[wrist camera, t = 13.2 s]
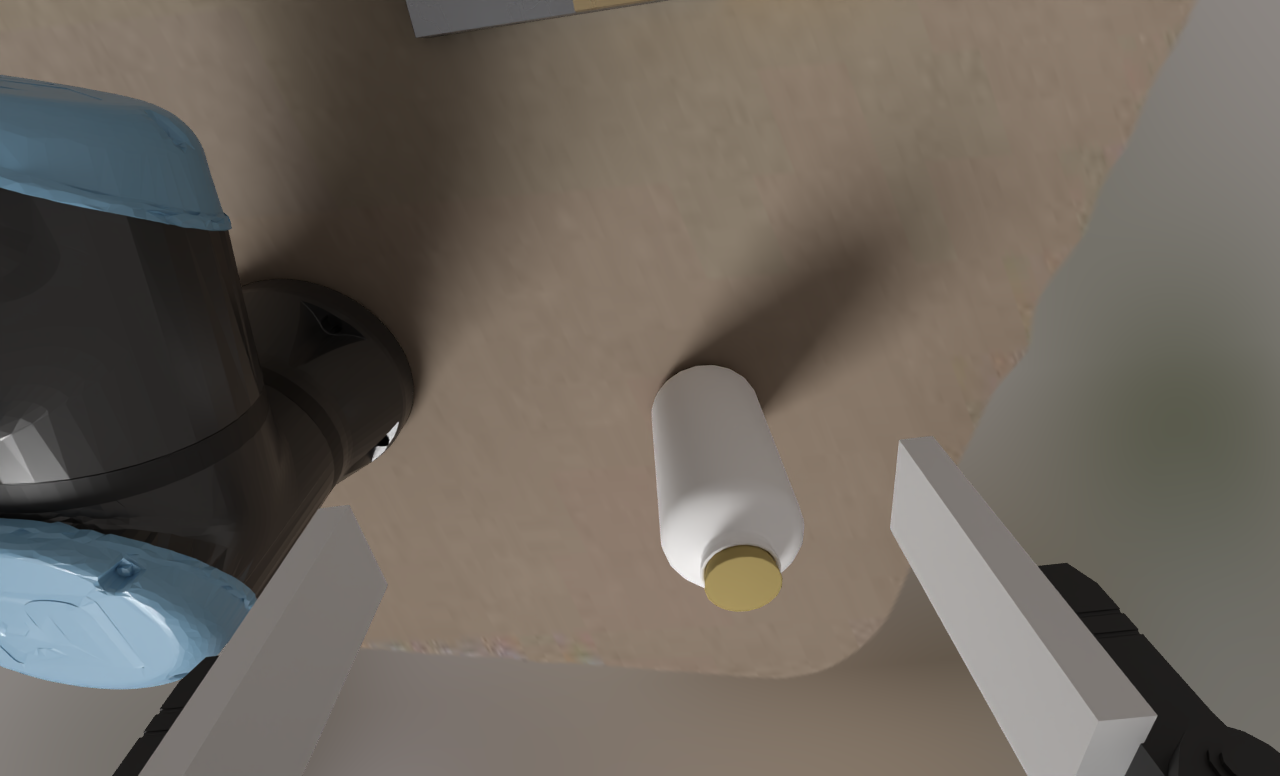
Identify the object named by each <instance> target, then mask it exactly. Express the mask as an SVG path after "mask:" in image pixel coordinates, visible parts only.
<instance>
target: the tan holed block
mask: <svg viewBox="0 0 1280 776" xmlns="http://www.w3.org/2000/svg"><path fill="white" fill-rule="evenodd" d="M661 1H667V0H406V3H407V7H408V11H409V14H410V18H411V22H412V25H413V29H414V33H415V36H416V38H428V37H435V36H441V35H447V34H454V33H460V32H467V31H473V30H480V29H486V28H493V27H499V26H506V25H512V24H519V23H525V22H531V21H538V20H544V19H551V18H557V17H564V16H570V15H577V14H583V13H590V12H596V11H603V10H609V9H615V8H622V7H628V6H635V5H641V4H648V3H654V2H661Z"/></svg>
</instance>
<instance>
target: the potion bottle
mask: <svg viewBox="0 0 1280 776" xmlns="http://www.w3.org/2000/svg"><path fill="white" fill-rule="evenodd" d="M652 427H653V440H654V454H655V467H656V481H657V494H658V508H659V521H660V535H661V546H662V548H663V551H664V553H665V555H666V557H667V559H668V561H669V563H670V565H671V567H673V568H674V569H675V570H676V571H677V572H678V573H679V574H680V575H681V576H682V577H684V578H685V579H687V580H688V581H690V582H692V583H695V584H697V585H699V586H701V587H703V588H705V592H706V595H707V597H708V599H709V600H710V601H711V602H713V603H714V604H715V605H716V606H718V607H721V608H723V609H725V610H730V611H736V612H737V611H750V610H753V609H757V608H760V607H762V606H764V605H766V604H767V603H769V602H770V601H771V600H773V599H774V598H775V597H776V596H777V594H778V593H779V591H780V589H781V587H782V575H781V573H782V572H783V571H784V570H785V569H786V568H787V567H788V566H789V565H790V564H791V563H792V562H793V560H794V558H795V557H796V555H797V553H798V551H799V549H800V547H801V545H802V543H803V534H804V520H803V516H802V513H801V510H800V507H799V504H798V501H797V499H796V496H795V494H794V491H793V489H792V486H791V483H790V481H789V478H788V476H787V473H786V471H785V468H784V465H783V463H782V460H781V458H780V455H779V452H778V450H777V447H776V445H775V442H774V440H773V437H772V434H771V432H770V429H769V427H768V424H767V422H766V419H765V416H764V414H763V411H762V409H761V406H760V404H759V401H758V398H757V396H756V393H755V391H754V389H753V388H752V387H751V385H750V384H749V383H748V382H747V380H746V379H745V378H744V377H743V376H741V375H739V374H738V373H736V372H734V371H733V370H731V369H729V368H724V367H720V366H716V365H704V366H695V367H692V368H689V369H686V370H683V371H680V372H679V373H677V374H676V375H674V376H673V377H671V378H670V379H669V380H667V381H666V382H665V383H664V385H663V386H662V387H661V389H660V390H659V391H658V393H657V394H656V397H655V400H654V403H653V407H652Z"/></svg>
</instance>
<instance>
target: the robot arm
mask: <svg viewBox="0 0 1280 776" xmlns="http://www.w3.org/2000/svg"><path fill="white" fill-rule="evenodd" d="M231 228H232V227H231V222H230V219H229V217H228V216H227V215H226V214H225V213H224V212H223V210H222V207H221V204H220V201H219V198H218V195H217V192H216V189H215V186H214V183H213V180H212V177H211V173H210V170H209V167H208V163H207V160H206V156H205V153H204V150H203V148H202V146H201V143H200V142H199V140H198V138H197V137H196V135H195V134H194V133H193V131H192V130H191V129H190V128H189V127H188V126H187V125H186V124H185V123H184V122H183V121H182V120H180V119H179V118H178V117H176V116H175V115H174V114H172V113H170V112H169V111H167V110H165V109H163V108H161V107H159V106H156V105H154V104H151V103H148V102H145V101H142V100H138V99H135V98H131V97H126V96H122V95H117V94H112V93H107V92H101V91H96V90H91V89H86V88H80V87H75V86H69V85H63V84H57V83H51V82H45V81H39V80H32V79H25V78H19V77H12V76H5V75H0V666H1V667H4V668H7V669H11V670H14V671H17V672H20V673H22V674H25V675H29V676H32V677H36V678H39V679H44V680H48V681H52V682H57V683H63V684H69V685H74V686H81V687H90V688H101V689H136V688H145V687H153V686H159V685H163V684H167V683H171V682H174V681H177V680H180V679H182V678H183V679H182V680H181V681H180V682H179V683H178V684H177V686H176V687H175V688H174V690H173V691H172V693H171V694H170V696H169V697H168V698H167V700H166V701H165V703H164V704H163V705H162V707H161V708H160V713H159V714H158V715H155V717H154V718H153V719H152V721H151V722H150V724H149V725H148V726H147V728H146V729H145V731H144V736H143V737H142V738H139V739H138V740H137V742H136V743H135V745H134V746H133V747H132V749H131V750H130V752H129V753H128V754H127V756H126V757H125V759H124V760H123V761H122V763H121V764H120V766H119V767H118V769H117V770H116V771H115V773H114V774H113V776H303V773H304V771H305V768H306V767H307V764H308V762H309V760H310V758H311V756H312V753H313V751H314V749H315V747H316V744H317V742H318V740H319V738H320V735H321V733H322V731H323V729H324V726H325V724H326V722H327V720H328V717H329V715H330V713H331V711H332V709H333V706H334V704H335V702H336V700H337V698H338V695H339V693H340V691H341V689H342V686H343V684H344V682H345V680H346V677H347V675H348V673H349V670H350V668H351V666H352V664H353V662H354V660H355V657H356V655H357V653H358V651H359V648H360V646H361V644H362V642H363V640H364V637H365V635H366V633H367V631H368V628H369V626H370V624H371V622H372V619H373V617H374V615H375V613H376V611H377V608H378V606H379V604H380V602H381V599H382V597H383V595H384V593H385V590H386V588H387V586H388V584H387V582H386V580H385V578H384V576H383V574H382V571H381V569H380V567H379V565H378V563H377V561H376V559H375V557H374V555H373V553H372V551H371V549H370V547H369V545H368V542H367V540H366V538H365V536H364V534H363V532H362V530H361V528H360V526H359V524H358V522H357V520H356V518H355V516H354V514H353V511H352V509H351V507H350V505H345V506H336V507H328V508H320V507H321V506H322V504H323V503H324V501H325V500H326V498H327V496H328V495H329V493H330V492H331V491H332V489H333V488H334V486H335V485H336V484H338V483H339V482H341V481H342V480H344V479H346V478H347V477H349V476H350V475H352V474H353V473H355V472H357V471H358V470H360V469H361V468H363V467H364V466H366V465H368V464H369V463H371V462H372V461H374V460H375V459H377V458H378V457H379V456H381V455H382V454H383V453H384V452H385V451H386V450H387V449H388V448H389V447H390V446H391V445H392V443H393V442H394V441H395V439H396V438H397V436H398V434H399V433H400V431H401V429H402V428H403V426H404V424H405V423H406V421H407V419H408V417H409V414H410V411H411V408H412V403H413V392H414V389H413V379H412V374H411V370H410V367H409V364H408V361H407V359H406V356H405V354H404V352H403V350H402V349H401V347H400V345H399V344H398V342H397V341H396V339H395V338H394V336H393V335H392V334H391V333H390V331H389V330H388V329H387V328H386V327H385V326H384V324H383V323H382V322H381V321H380V320H379V319H377V318H376V317H375V316H374V315H373V314H372V313H371V312H369V311H368V310H367V309H365V308H364V307H363V306H361V305H360V304H358V303H357V302H355V301H354V300H352V299H350V298H348V297H347V296H345V295H343V294H341V293H338V292H336V291H334V290H332V289H329V288H326V287H324V286H320V285H317V284H313V283H309V282H304V281H299V280H289V279H273V280H264V281H258V282H255V283H251V284H248V285H245V286H243V287H241V284H240V279H239V275H238V271H237V266H236V262H235V257H234V253H233V249H232V244H231V240H230V235H229V231H228V230H230V229H231ZM890 530H891V531H892V533H893V535H894V537H895V539H896V540H897V542H898V544H899V546H900V547H901V549H902V551H903V553H904V555H905V556H906V558H907V560H908V562H909V564H910V565H911V567H912V569H913V571H914V573H915V574H916V576H917V578H918V580H919V582H920V583H921V585H922V587H923V589H924V591H925V592H926V594H927V596H928V598H929V600H930V601H931V603H932V605H933V607H934V608H935V610H936V612H937V614H938V616H939V617H940V619H941V621H942V623H943V625H944V627H945V628H946V630H947V632H948V634H949V635H950V637H951V639H952V641H953V643H954V644H955V646H956V648H957V650H958V652H959V653H960V655H961V657H962V659H963V660H964V662H965V664H966V666H967V668H968V670H969V671H970V673H971V675H972V677H973V678H974V680H975V682H976V684H977V686H978V688H979V689H980V691H981V693H982V695H983V696H984V698H985V700H986V702H987V704H988V706H989V707H990V709H991V711H992V713H993V714H994V716H995V718H996V720H997V722H998V723H999V725H1000V727H1001V729H1002V730H1003V732H1004V734H1005V736H1006V738H1007V740H1008V741H1009V743H1010V745H1011V747H1012V749H1013V750H1014V752H1015V754H1016V756H1017V758H1018V759H1019V761H1020V763H1021V765H1022V766H1023V768H1024V770H1025V772H1026V774H1027V776H1280V753H1279V752H1278V751H1276V750H1275V749H1274V748H1273V747H1271V746H1270V745H1268V744H1266V743H1265V742H1263V741H1261V740H1259V739H1257V738H1255V737H1253V736H1251V735H1250V734H1247V733H1246V732H1243V731H1241V730H1237V729H1234V728H1230V727H1227V726H1226V725H1225V724H1224V723H1223V722H1222V721H1221V720H1220V719H1219V718H1218V717H1217V716H1216V715H1215V714H1214V713H1212V711H1211V710H1210V709H1209V708H1208V707H1207V706H1206V705H1205V704H1204V703H1203V701H1202V700H1201V699H1200V698H1199V697H1198V696H1197V695H1196V694H1195V692H1194V691H1193V690H1192V689H1191V688H1190V687H1189V686H1188V684H1187V683H1186V682H1185V681H1184V680H1183V679H1182V678H1181V677H1180V675H1179V674H1178V673H1177V672H1176V671H1175V670H1174V669H1173V668H1172V667H1171V665H1170V664H1169V663H1168V662H1167V661H1166V660H1165V659H1164V658H1163V656H1162V655H1161V654H1160V653H1159V652H1158V651H1157V650H1156V649H1155V647H1154V646H1153V645H1152V644H1151V643H1150V642H1149V641H1148V640H1147V638H1146V637H1145V636H1144V635H1143V634H1139V632H1138V628H1137V627H1136V626H1135V625H1134V624H1133V623H1132V622H1131V621H1130V619H1129V618H1128V617H1127V616H1126V615H1125V614H1124V613H1123V614H1122V613H1121V612H1120V610H1119V609H1120V608H1119V607H1118V606H1117V605H1116V604H1115V603H1114V601H1113V600H1112V599H1111V598H1110V597H1109V596H1108V595H1107V594H1106V593H1105V591H1104V590H1103V589H1102V588H1101V587H1100V586H1099V585H1098V583H1096V582H1095V581H1093V580H1092V579H1090V578H1089V577H1087V576H1086V575H1084V574H1083V573H1081V572H1080V571H1078V570H1077V569H1075V568H1074V567H1072V566H1071V565H1069V564H1068V563H1061V564H1052V565H1043V566H1037V565H1036V564H1035V562H1034V561H1033V560H1032V559H1031V557H1030V556H1029V555H1028V554H1027V553H1026V551H1025V550H1024V549H1023V547H1022V546H1021V545H1020V544H1019V543H1018V541H1017V540H1016V539H1015V538H1014V536H1013V535H1012V534H1011V533H1010V531H1009V530H1008V529H1007V528H1006V526H1005V525H1004V524H1003V523H1002V521H1001V520H1000V519H999V518H998V516H997V515H996V514H995V513H994V511H993V510H992V509H991V508H990V507H989V505H988V504H987V503H986V502H985V500H984V499H983V498H982V497H981V495H980V494H979V493H978V492H977V490H976V489H975V488H974V487H973V485H972V484H971V483H970V482H969V480H968V479H967V478H966V477H965V476H964V474H963V473H962V472H961V470H960V469H959V468H958V467H957V465H956V464H955V463H954V462H953V460H952V459H951V458H950V457H949V455H948V454H947V453H946V452H945V450H944V449H943V448H942V447H941V446H940V444H939V443H938V442H937V441H936V439H935V438H934V437H933V436H928V437H919V438H911V439H902V440H899V446H898V456H897V466H896V476H895V486H894V496H893V505H892V515H891V525H890ZM227 643H228V644H227ZM226 644H227V645H226ZM225 645H226V646H225ZM224 647H225V648H224ZM223 648H224V649H223ZM222 649H223V651H222V652H221V650H222ZM220 652H221V654H220V655H219V656H217V655H218V654H219V653H220Z"/></svg>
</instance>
